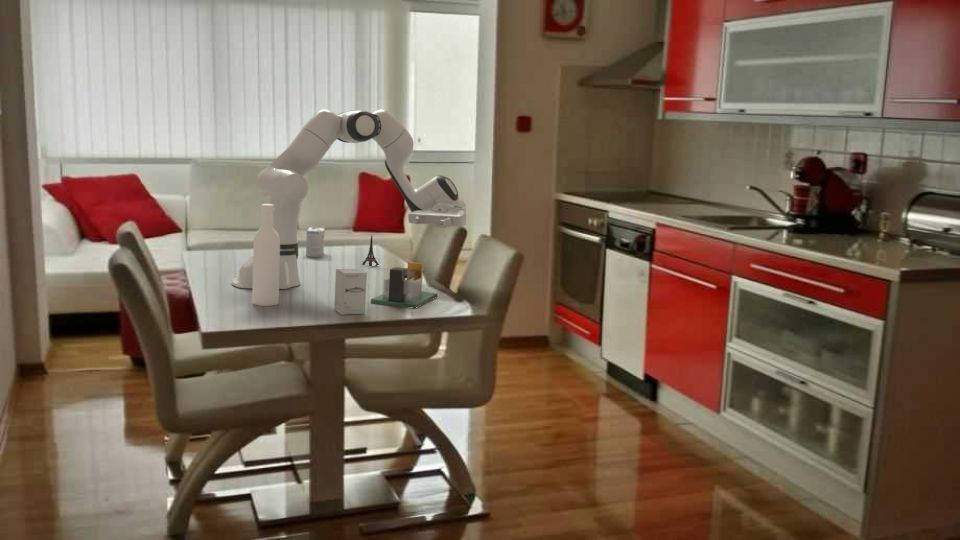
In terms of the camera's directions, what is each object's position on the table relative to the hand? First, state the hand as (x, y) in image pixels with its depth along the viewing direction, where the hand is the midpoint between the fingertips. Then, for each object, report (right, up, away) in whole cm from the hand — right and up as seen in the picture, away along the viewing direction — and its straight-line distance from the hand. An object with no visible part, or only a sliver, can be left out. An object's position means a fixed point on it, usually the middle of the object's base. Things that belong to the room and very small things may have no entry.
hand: (429, 222), depth 295 cm
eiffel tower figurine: (-26, -15, +45) cm, 54 cm away
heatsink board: (-7, -26, -17) cm, 32 cm away
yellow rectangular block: (-6, -23, -14) cm, 27 cm away
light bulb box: (-51, -10, +63) cm, 82 cm away
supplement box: (-21, -29, -39) cm, 53 cm away
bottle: (-48, -27, -35) cm, 65 cm away
